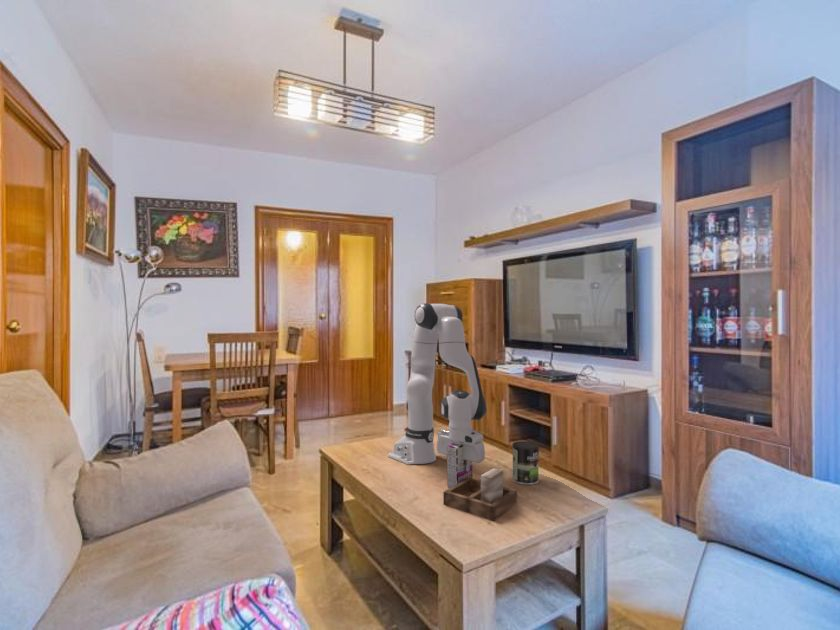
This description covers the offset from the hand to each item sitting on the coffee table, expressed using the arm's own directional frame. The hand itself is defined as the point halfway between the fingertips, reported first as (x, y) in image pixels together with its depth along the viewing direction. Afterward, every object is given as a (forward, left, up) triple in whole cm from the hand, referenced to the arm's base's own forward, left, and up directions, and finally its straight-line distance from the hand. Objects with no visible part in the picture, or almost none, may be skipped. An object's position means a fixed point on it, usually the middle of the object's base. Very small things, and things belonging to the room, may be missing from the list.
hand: (459, 469), depth 180 cm
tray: (+15, -10, -6) cm, 19 cm away
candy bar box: (0, 0, -6) cm, 6 cm away
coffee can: (+18, +20, -6) cm, 28 cm away
